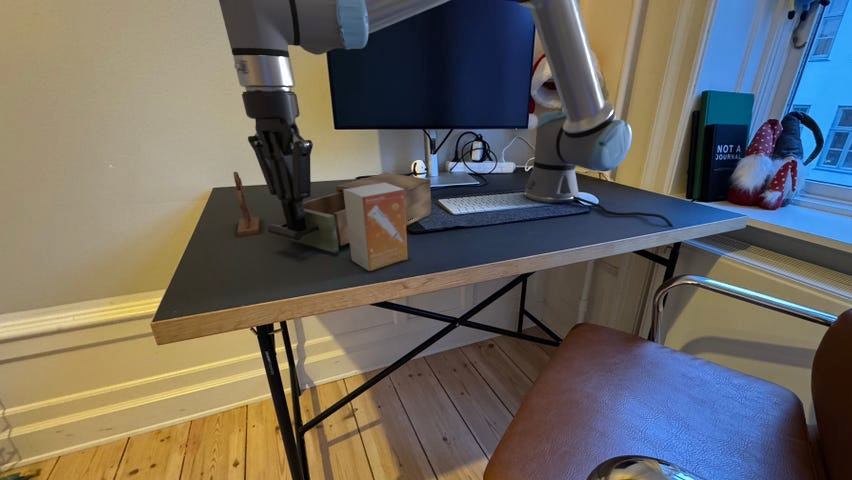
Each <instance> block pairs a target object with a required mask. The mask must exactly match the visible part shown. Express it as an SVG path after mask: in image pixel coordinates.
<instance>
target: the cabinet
mask: <svg viewBox="0 0 852 480" xmlns="http://www.w3.org/2000/svg"><path fill="white" fill-rule="evenodd" d="M384 182H385V183H388V184H391V185H394V186H397V187H399V188H402V189H404V193H405V215H406V227H407V226H409V225H411V224H413V223H415V222H418V221H419V220H421V219H423V218H425V217H428V216H430V215H432V196H431V192H432V191H431V190H432V188H431V179H430V178H424V177H418V176H410V175H403V174H397V173H390V172H383V173H379V174H375V175H372V176H368V177H363V178H359V179H356V180H352V181H347V182H344V183H341V184H337V185H335V188H336V190H335V191H336V193H337V192H341V191H343V189H350V188H355V187H360V186H365V185H374V184H379V183H384ZM412 218H413V219H412ZM410 219H411V220H410ZM408 220H409V221H408Z"/></svg>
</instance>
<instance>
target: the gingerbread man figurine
mask: <svg viewBox="0 0 852 480" xmlns="http://www.w3.org/2000/svg"><path fill="white" fill-rule="evenodd" d="M233 179H234V183H235V187H236V189H237V191H236V194H237V199H238V204H239V208H240V210H241V211H242V215H243V218H239V220H238V226H237V231H236V233H237V236H238V237H242V236H251V235H258V234H260V218H259V217H258V216H254V217H252V216H250V213H249V209H248V206H247V204H246V199H245V193H244V187H243V183H242V179H241V177H240V175H239V172H238V171H233Z"/></svg>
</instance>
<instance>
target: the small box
mask: <svg viewBox="0 0 852 480" xmlns="http://www.w3.org/2000/svg"><path fill="white" fill-rule="evenodd" d="M343 192H344V200H345V209H346V217H347V225H348V234H349V249H350V256H351V261H352V262H354V263H355V264H357V265H358V266H360V267H361V268H363V269H365V270H366V271H368V272H372V271H375V270H378V269H380V268H384V267H387V266H390V265H392V264H396V263H399V262H403V261H406V260H408V243H407V242H408V240H407V237H408V236H407V226H406V215H405V193H404V189H402V188H399V187H397V186H394V185H391V184H388V183H385V182H384V183H379V184H374V185H365V186H360V187H355V188H350V189H343Z"/></svg>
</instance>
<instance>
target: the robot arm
mask: <svg viewBox="0 0 852 480" xmlns="http://www.w3.org/2000/svg"><path fill="white" fill-rule="evenodd" d="M450 1H451V0H218V2H219V3H218V4H219V6H220V10H221V15H222V20H223V22H224V26H225V30H226V34H227V39H228V41H229V46H230V49H231V54H232V56H233V57H232V58H233V61H234V69H235V71H236V75H237V79H238V84H239V87H242V88H244V89H245V91H242V93H241V98H242V102H243V107H244V111H245V114H246V116H247V118H248V119H252V120H255V126H254V129H255V134H254V135H249V136H248V137H247V141H248V143H249V145H250V146H251V148H252V150H253V152H254V154H255V156H256V159H257V162H258V164H259V167H260V169H261V172H262V175H263V178H264V181H265V183H266V186H267V189H268V191H269V193H270V195H271V196H276V197H277V199H278V201H280V203H281V209H282V208H283V210H282V214H283V213H284V215H283V217H284V216H285V218H286V223H287V228H289V229H293V230H296V231H303V230H306V229H307V228H306V222H305V211H304V206H303V202H304V199H307V198H310V197H311V196H312V191H311V190H312V189H311V183H312V181H311V176H312V175H311V154H312V150H313V147H314V143H313V141H312V140H311V139H304V138H303V137H302V135H300V129H299V126H298V124H297V122H296V119H297V118H298V117H299V116H300V108H299V102H298V96H297V94H296V93H295V91H292V88H294V87H295V86H296V83H295V78H294V72H293V66H292V62H291V58H290V52H289V46H294V47H300V48H301V49H302V50H304V51H306V52H307V53H310V54H313V55H316V56H317V55H318V56H319V55H323V54H326V53H328V52H330V51H332V50H334V49H345V50H347V51H349V50H356V49H357V50H358V49H359V50H361V49H363V48H366V45H367V44H368V41H369V34H371V33H372V34H373V33H374V32H377V31H379V30H381V29H384V28H386V27H389V26H391V25H394V24H396V23H398V22H401V21H404V20H406V19H408V18H411V17H413V16H416V15H418V14H422V13H423V12H425V11H428V10H430V9H433V8H435V7H438V6H440V5H443V4H445V3H447V2H450ZM517 2H518V3H517V4H518V6H521V7H524V8H527V9H528V10H529V12H530V15H531V17H532V21H533V24H534V26H535V29H536V32H537V35H538V38H539V41H540V43H541V47H542V50H543V52H544V53H543V54H544V56H545V59H546V62H547V64H548V68H549V70H550V73H551V77H552V79H553V82H554V85H555V88H556V91H557V94H558V96H559V100H560V103H561V105H562V109H563V110H555V111H547V112H542V113H541V114H540V115H539V116H538V121H537V127H536V135H535V144H534V145H535V146H534V156H533V157H534V158H533V167H532V171H531V173H530V175H529V178H528V180H527V182H526V185H525V188H524V197H525V198H527V199H529V200H532V201H535V202H540V203H546V204H547V203H548V204H567V203H573V202H576V201H580V202H583V203H586V204H588V205H592V206H593V207H597V208H599V209H601V210H602V211H603V212H605V213H606V214H609V215H612V216H642V217H652V218H658V219H661V220H663V221H665V223H666V224H667V225H668V226H669V227H674V225H673V223H672V222H671V221H670V219H668V217H666V216H664V215H662V214H659V213H650V212H649V213H648V212H640V211H628V212H627V211H626V212H619V211H618V212H616V211H611V210H608V209H607V208H606V207H605V206H603V205H601V204H599V203H596V202H593V201H590V200H587V199H584V198H582V197H579V196H578V195H579V188H578V181H577V175H576V167H580V168H584V169H588V170H591V171H593V172H596V171H597V172H610V171H612V170H614V169H616V168H617V167H618V166H619V165H620V164H621V163H622V162H623V161H624V159H625V158H626V155H627V154H628V151H629V149H630V146H631V144H632V135H633V134H632V128H631V125H630V123H628V122H626V121H625V120H623V119H617V116H616V111H615V107H614V105H613V103H612V102H610V101H607V100H605V98H604V95H603V91H602V87H601V83H600V80H599V76H598V72H597V69H596V64H595V60H594V57H593V53H592V49H591V45H590V42H589V38H588V33H587V31H586V26H585V23H584V18H583V16H582V12H581V8H580V7H581V6H580V4H579V0H517ZM525 193H526V194H525ZM305 235H306V234H305ZM302 236H303V235H302Z"/></svg>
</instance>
